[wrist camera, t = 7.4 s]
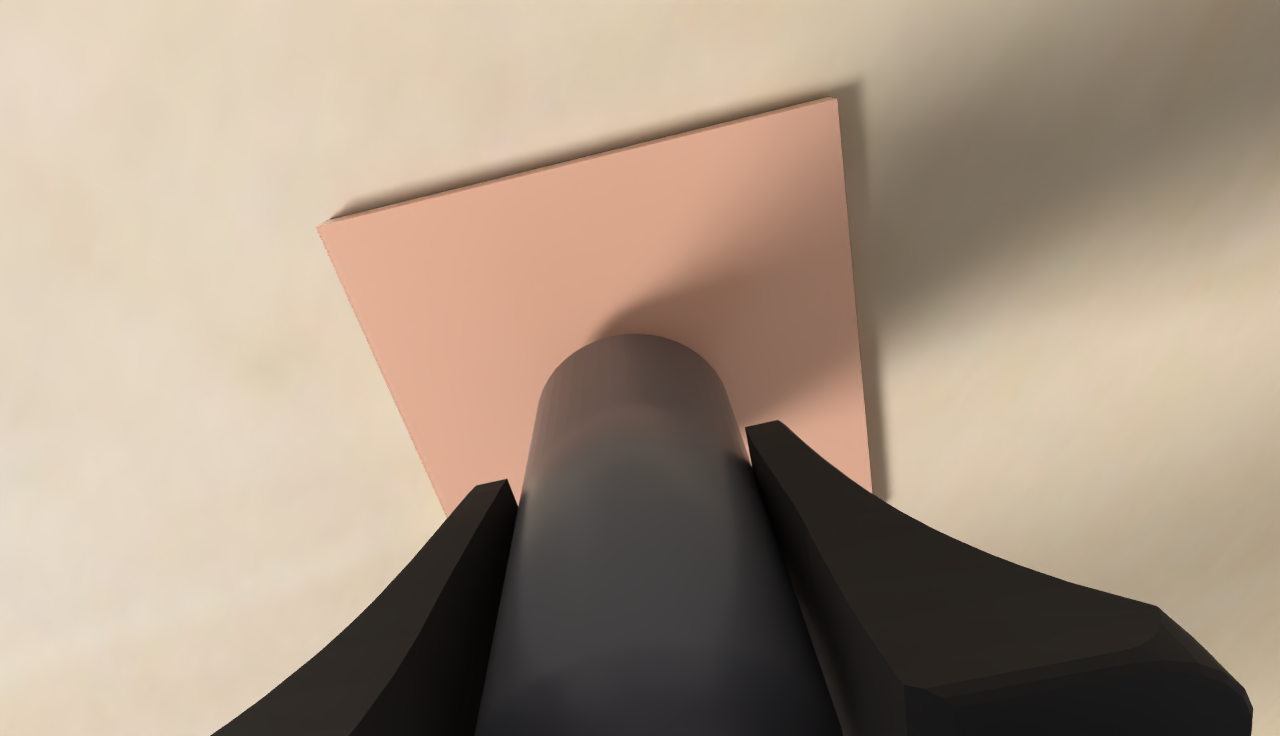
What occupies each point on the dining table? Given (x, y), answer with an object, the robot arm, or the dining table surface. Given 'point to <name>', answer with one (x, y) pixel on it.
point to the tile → (617, 288)
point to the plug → (646, 566)
